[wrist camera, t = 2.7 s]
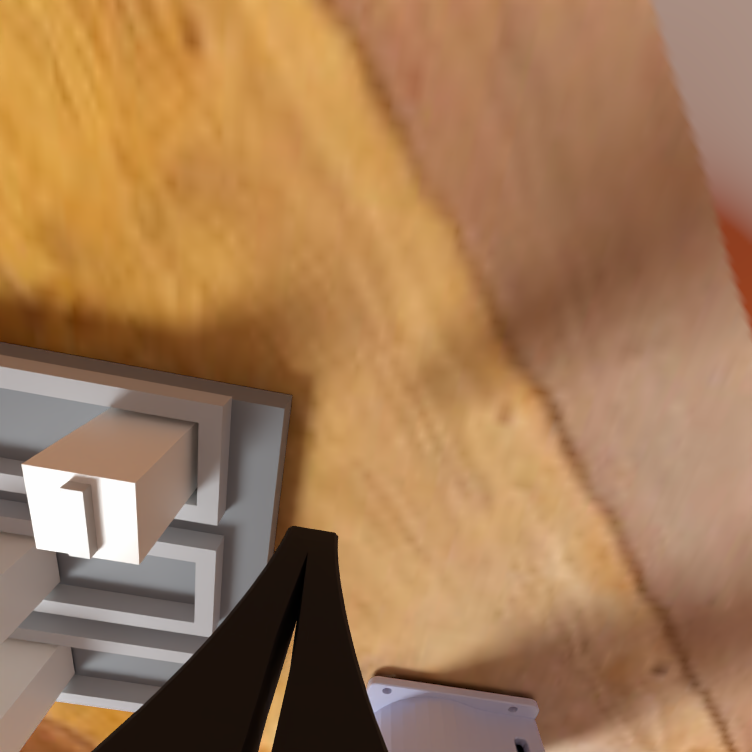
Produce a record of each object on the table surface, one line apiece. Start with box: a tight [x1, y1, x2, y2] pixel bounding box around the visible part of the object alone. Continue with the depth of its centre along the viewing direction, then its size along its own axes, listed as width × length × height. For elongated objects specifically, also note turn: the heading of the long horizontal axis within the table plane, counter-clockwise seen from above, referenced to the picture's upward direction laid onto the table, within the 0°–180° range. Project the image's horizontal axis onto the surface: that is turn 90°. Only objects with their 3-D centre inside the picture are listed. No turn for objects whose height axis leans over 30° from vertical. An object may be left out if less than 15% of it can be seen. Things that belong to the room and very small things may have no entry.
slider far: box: [0, 638, 75, 752], centre depth 16 cm, size 3×3×4 cm
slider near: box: [21, 407, 199, 565], centre depth 12 cm, size 3×3×4 cm
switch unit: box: [0, 342, 292, 712], centre depth 16 cm, size 15×18×2 cm
